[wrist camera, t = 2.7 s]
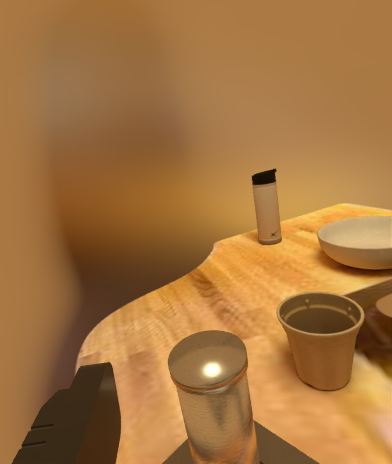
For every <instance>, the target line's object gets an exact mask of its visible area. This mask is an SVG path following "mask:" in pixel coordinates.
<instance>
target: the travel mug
mask: <svg viewBox="0 0 392 464" xmlns="http://www.w3.org/2000/svg"><path fill="white" fill-rule="evenodd" d="M275 172H276V169H273V170H269V171H264V172H261V173H257V174H254V176H252V181H253V182H252V183H253V193H254V202H255V211H256V219H257V227H258V236H259V242H260V243H261V244H264V245H272V244H277V243H279V242H280V241H281V240H282V238H281V227H280V217H279V206H278V196H277V186H276V179H275Z"/></svg>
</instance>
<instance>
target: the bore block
mask: <svg viewBox="0 0 392 464" xmlns="http://www.w3.org/2000/svg"><path fill="white" fill-rule="evenodd" d="M254 427H255V434H256V441H257V447H258V454H259V461H260V464H319V463H318V462H316V461H315V460H313V459H312V458H310V457H309V456H307V455H306V454H304V453H303V452H301V451H300V450H298V449H297V448H295V447H294V446H292V445H290V444H289V443H287V442H286V441H284V440H283V439H281V438H280V437H278V436H277V435H275V434H274V433H272V432H271V431H269V430H268V429H266V428H265V427H263V426H262V425H260V424H259V423H257V422H256V421H254ZM163 464H194V463H193V458H192V454H191V450H190V445H189V441H188V439H187V440H186V441H185V442H184V443H183V444H182V445H181V446H180V447H179V448H178V449H177V450H176V451H175V452H174V453H173V454H172V455H171V456H170V457H169V458H168V459H167V460H166V461H165V462H164V463H163Z"/></svg>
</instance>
